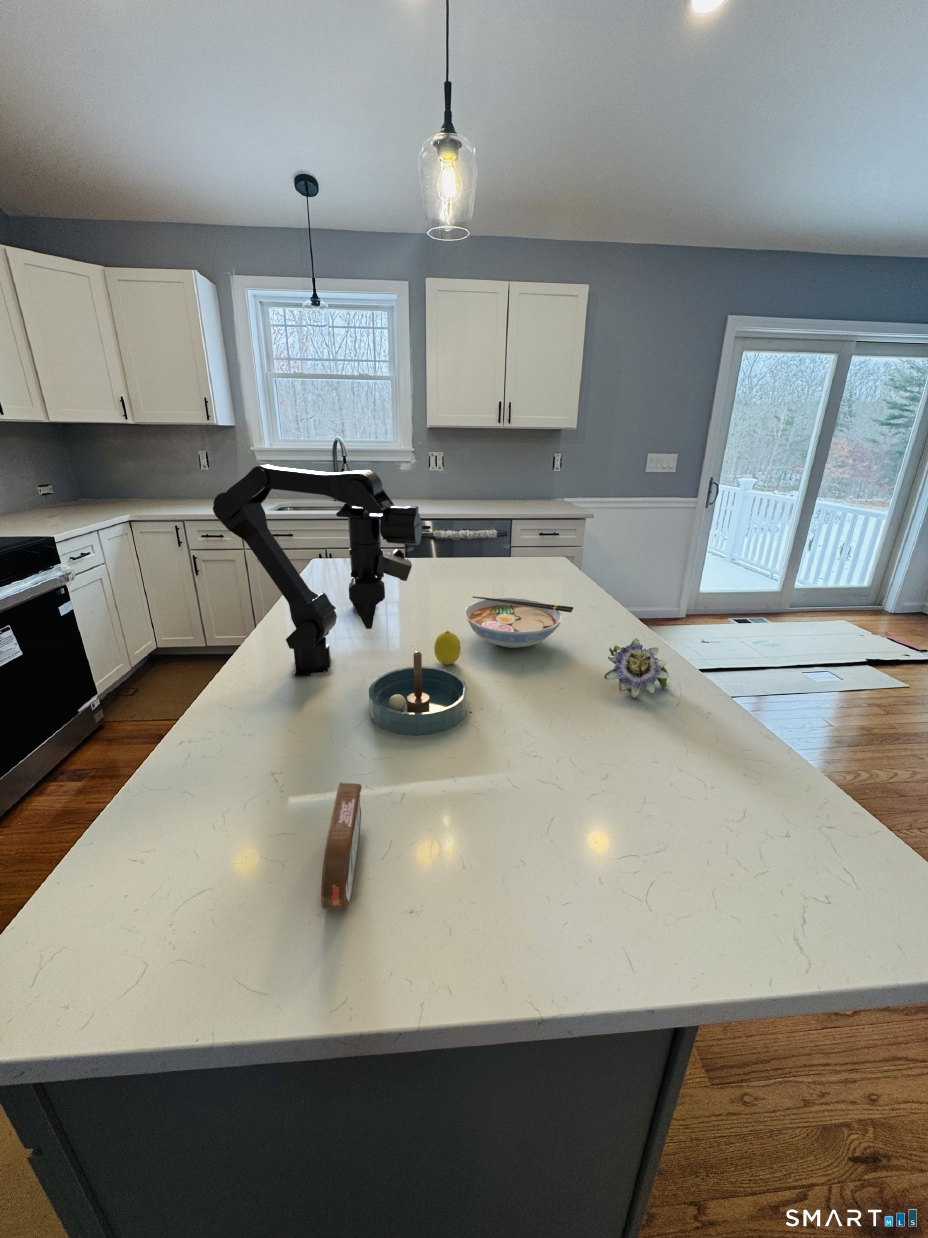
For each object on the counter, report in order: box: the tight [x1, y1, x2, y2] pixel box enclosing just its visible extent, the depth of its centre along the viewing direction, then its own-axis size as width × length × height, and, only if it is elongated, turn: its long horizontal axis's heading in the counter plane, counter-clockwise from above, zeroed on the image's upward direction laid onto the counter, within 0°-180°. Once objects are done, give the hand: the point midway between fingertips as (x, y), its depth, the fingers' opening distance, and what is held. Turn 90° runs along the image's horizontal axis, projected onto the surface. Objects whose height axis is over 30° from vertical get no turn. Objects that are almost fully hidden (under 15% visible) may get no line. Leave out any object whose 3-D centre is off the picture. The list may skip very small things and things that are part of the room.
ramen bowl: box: [463, 595, 574, 649], centre depth 119 cm, size 25×23×8 cm
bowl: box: [368, 666, 468, 736], centre depth 90 cm, size 17×17×4 cm
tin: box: [320, 781, 362, 911], centre depth 57 cm, size 15×3×8 cm, turn 5°
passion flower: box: [603, 637, 670, 699], centre depth 100 cm, size 11×11×12 cm
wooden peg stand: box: [407, 650, 430, 713], centre depth 89 cm, size 4×4×11 cm
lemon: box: [433, 630, 461, 666], centre depth 107 cm, size 6×6×8 cm
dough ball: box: [389, 694, 406, 711], centre depth 89 cm, size 3×3×3 cm
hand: (368, 619), depth 100 cm, fingers open, 9 cm apart
